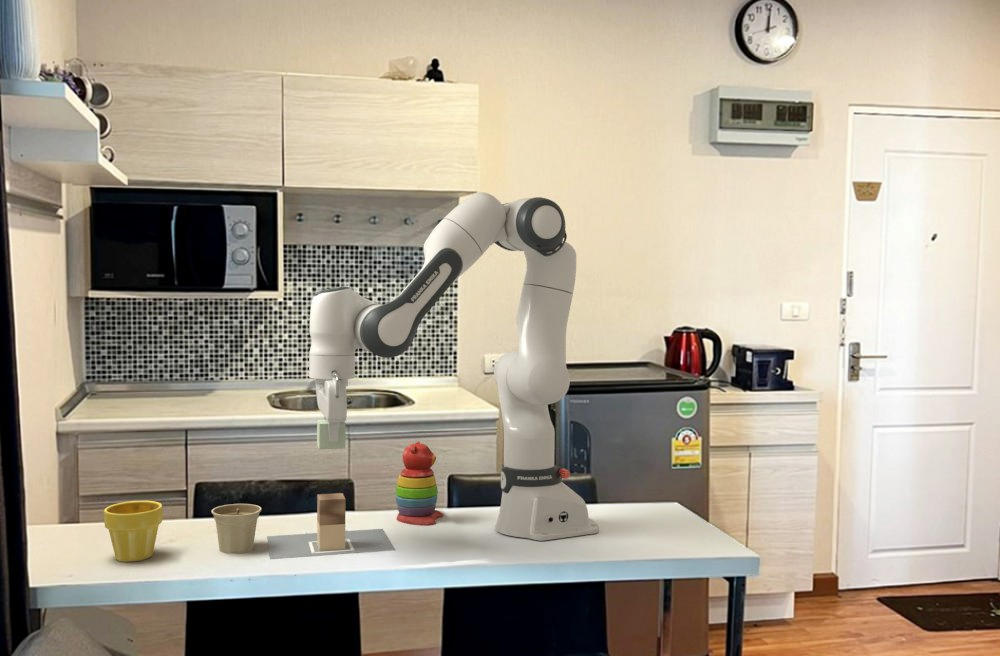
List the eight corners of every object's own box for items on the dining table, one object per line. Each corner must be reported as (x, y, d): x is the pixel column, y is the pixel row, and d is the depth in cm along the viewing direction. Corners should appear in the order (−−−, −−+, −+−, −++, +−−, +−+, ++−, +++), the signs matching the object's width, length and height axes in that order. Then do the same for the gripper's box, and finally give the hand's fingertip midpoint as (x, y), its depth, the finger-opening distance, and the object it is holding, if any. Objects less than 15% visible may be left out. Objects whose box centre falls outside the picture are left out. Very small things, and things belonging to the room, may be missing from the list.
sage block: (342, 444, 179) (342, 419, 178) (345, 448, 174) (345, 423, 174) (317, 445, 177) (317, 420, 177) (319, 449, 172) (319, 423, 172)
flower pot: (269, 547, 178) (269, 504, 177) (248, 561, 169) (247, 516, 168) (226, 544, 180) (226, 502, 179) (202, 558, 170) (202, 513, 170)
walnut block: (342, 517, 179) (342, 493, 179) (345, 523, 174) (345, 498, 174) (317, 519, 178) (317, 494, 178) (319, 525, 173) (319, 500, 173)
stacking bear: (433, 530, 192) (433, 448, 192) (388, 526, 194) (389, 446, 194) (446, 517, 203) (446, 440, 202) (403, 514, 205) (404, 438, 204)
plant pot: (103, 567, 164) (103, 515, 163) (105, 552, 173) (104, 502, 173) (163, 561, 168) (163, 510, 167) (161, 547, 177) (161, 498, 177)
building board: (382, 532, 190) (382, 505, 190) (395, 553, 175) (395, 524, 174) (267, 540, 183) (267, 512, 183) (269, 563, 168) (270, 532, 167)
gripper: (354, 373, 166) (354, 447, 166) (342, 364, 185) (341, 430, 186) (320, 374, 164) (320, 448, 165) (311, 364, 184) (311, 431, 184)
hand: (331, 438), depth 175 cm, fingers closed on sage block, 5 cm apart
